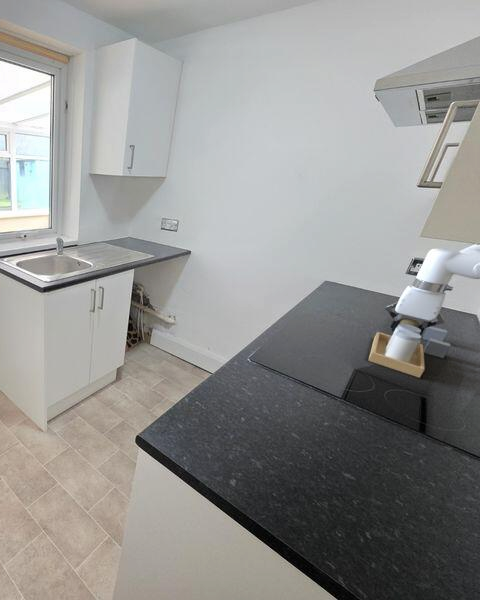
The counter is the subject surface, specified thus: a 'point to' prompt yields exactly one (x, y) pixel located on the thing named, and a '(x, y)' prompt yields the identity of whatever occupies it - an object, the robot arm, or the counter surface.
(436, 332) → the grey slab back
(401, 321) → the cork
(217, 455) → the counter surface
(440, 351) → the grey slab front
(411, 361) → the shaker tray
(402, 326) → the cylinder
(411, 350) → the salt shaker
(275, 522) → the counter surface
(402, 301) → the robot arm
